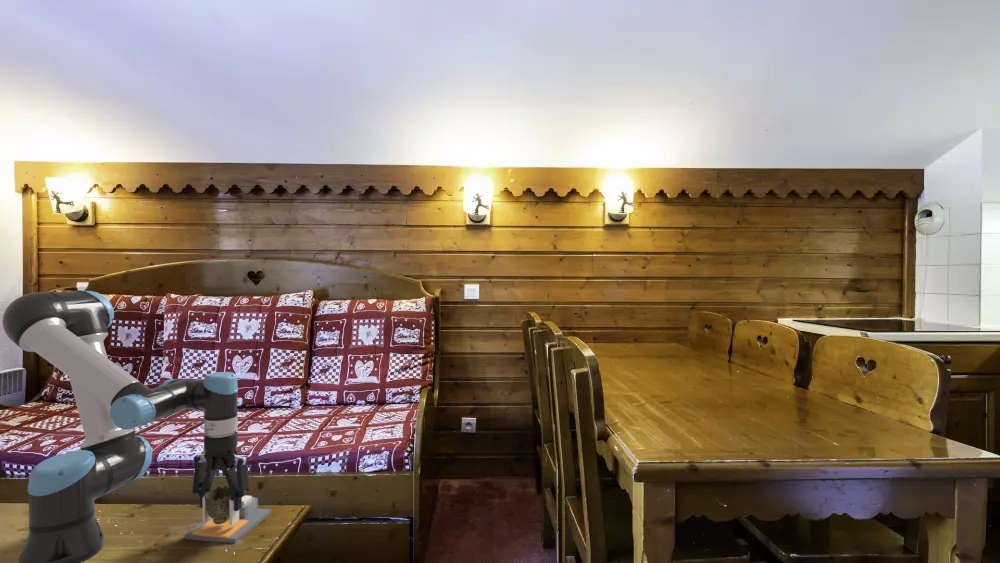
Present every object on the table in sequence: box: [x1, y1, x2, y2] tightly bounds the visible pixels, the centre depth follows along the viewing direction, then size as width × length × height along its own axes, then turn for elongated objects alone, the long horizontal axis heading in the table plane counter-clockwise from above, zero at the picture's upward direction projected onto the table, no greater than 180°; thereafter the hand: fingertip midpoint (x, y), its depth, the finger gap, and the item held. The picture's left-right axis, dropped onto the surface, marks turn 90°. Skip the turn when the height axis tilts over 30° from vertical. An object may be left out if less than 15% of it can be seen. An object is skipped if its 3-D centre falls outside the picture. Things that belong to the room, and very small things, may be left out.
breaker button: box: [242, 494, 253, 506], centre depth 133 cm, size 4×3×3 cm
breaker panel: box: [184, 496, 272, 544], centre depth 128 cm, size 14×15×4 cm
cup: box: [204, 485, 232, 524], centre depth 125 cm, size 8×7×8 cm
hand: (220, 520), depth 125 cm, fingers closed on cup, 7 cm apart
